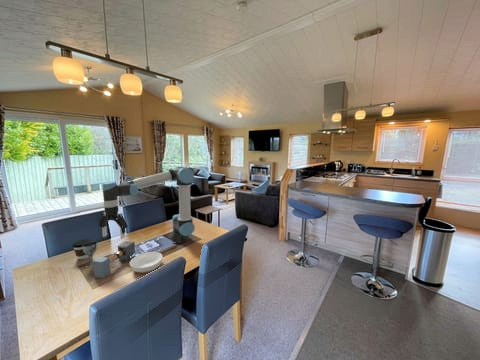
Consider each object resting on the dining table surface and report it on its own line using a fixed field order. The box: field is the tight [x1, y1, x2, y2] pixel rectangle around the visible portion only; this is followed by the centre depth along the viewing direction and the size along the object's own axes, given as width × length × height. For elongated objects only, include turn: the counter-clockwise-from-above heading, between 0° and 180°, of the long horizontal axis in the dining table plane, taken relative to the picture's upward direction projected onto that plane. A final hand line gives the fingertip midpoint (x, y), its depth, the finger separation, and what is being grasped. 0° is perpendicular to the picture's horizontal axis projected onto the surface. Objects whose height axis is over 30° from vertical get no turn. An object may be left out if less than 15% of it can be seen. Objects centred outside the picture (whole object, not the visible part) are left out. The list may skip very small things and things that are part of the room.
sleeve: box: [117, 240, 136, 262], centre depth 140 cm, size 8×7×11 cm
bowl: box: [129, 251, 163, 274], centre depth 128 cm, size 20×20×6 cm
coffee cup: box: [71, 238, 92, 260], centre depth 139 cm, size 11×11×12 cm
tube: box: [108, 248, 125, 264], centre depth 134 cm, size 19×4×4 cm, turn 169°
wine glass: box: [82, 240, 98, 268], centre depth 131 cm, size 8×8×15 cm
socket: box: [92, 256, 111, 279], centre depth 120 cm, size 5×7×11 cm
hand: (113, 237), depth 128 cm, fingers open, 13 cm apart
